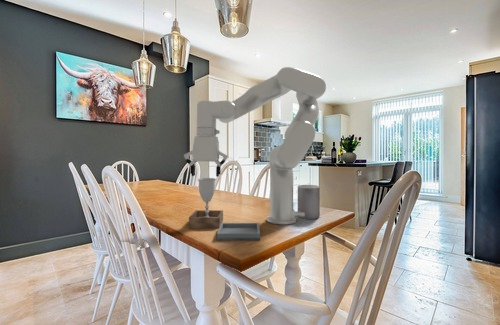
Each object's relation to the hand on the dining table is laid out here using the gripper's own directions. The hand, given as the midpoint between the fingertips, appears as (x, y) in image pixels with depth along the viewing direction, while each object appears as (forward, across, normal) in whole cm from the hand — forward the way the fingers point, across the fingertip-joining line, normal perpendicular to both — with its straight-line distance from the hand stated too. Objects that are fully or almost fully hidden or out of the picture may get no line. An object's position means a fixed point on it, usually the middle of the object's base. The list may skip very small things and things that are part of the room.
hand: (205, 176), depth 94 cm
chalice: (+19, -1, 0) cm, 19 cm away
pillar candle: (+18, -44, -12) cm, 50 cm away
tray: (+19, -14, +12) cm, 27 cm away
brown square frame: (+19, -1, 0) cm, 19 cm away
